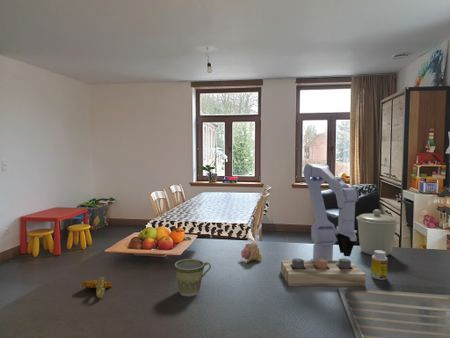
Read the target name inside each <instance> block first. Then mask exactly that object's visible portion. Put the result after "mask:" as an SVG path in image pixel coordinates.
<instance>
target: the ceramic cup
mask: <svg viewBox="0 0 450 338" xmlns="http://www.w3.org/2000/svg"><path fill="white" fill-rule="evenodd" d="M207 265H209V267H208V269H206V271H204V268H205V266H207ZM211 268H212V265H211V263H210V262H204V261H203V260H200V259H198V258H197V259H196V258H186V259H181V260H178V261H176V262H174V270H175V271H174V272H175V275H176V280H177V286H178V292H179V294H180V295H181V296H183V297H193V296H197V295H198V294H199V293H200V290H201V283H202V280H203V278H204V277H205V275H206V274H207V273H208V272H209V271H210V270H211Z"/></svg>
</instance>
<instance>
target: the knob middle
mask: <svg viewBox="0 0 450 338" xmlns="http://www.w3.org/2000/svg"><path fill="white" fill-rule="evenodd" d="M327 262H328V261H327V260H325V259H316V261H315V268H316V269H327Z"/></svg>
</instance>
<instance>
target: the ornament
mask: <svg viewBox="0 0 450 338" xmlns="http://www.w3.org/2000/svg"><path fill="white" fill-rule="evenodd" d="M105 279H106V278H105V277H104V276H101V277H99V278H98V280H96V279H91V280H86V281H85V280H84V281H82V282H81V283H80V285H81V287H84V288H88V289H89V288H90V289H93V288H94V289H95V292H96V293H95V295H96V297H97V298H98V299H101V298H102V297H104V293H105V291H106V289H108V288H111V287H112V286H113V283H112V282H111V281H106V280H105Z"/></svg>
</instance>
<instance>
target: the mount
mask: <svg viewBox="0 0 450 338" xmlns="http://www.w3.org/2000/svg"><path fill="white" fill-rule="evenodd" d="M338 266H339V260H332V261H328V262H327V269H316V268H315V261H312V260H304V269H292V260H286V259H285V260H280V273H281V274H282V276H283V278H284V279H285V281H286V284H287V285H288V287H366V278H367V276H366V274H367V273H365V272H364V271H363V270H362V269H360V268H359V267H358V266H357V265H356V264H355V263H353V262H352V261H351V269H339V268H338Z"/></svg>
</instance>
